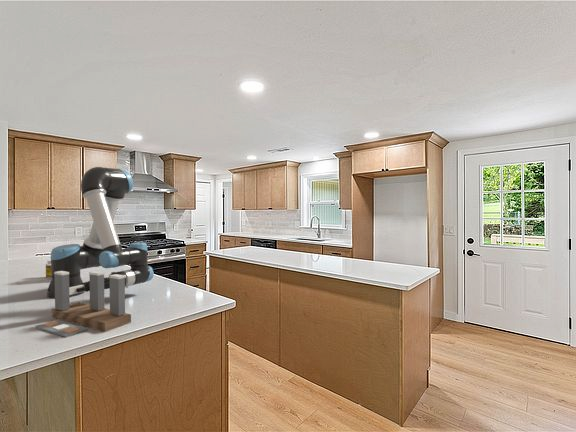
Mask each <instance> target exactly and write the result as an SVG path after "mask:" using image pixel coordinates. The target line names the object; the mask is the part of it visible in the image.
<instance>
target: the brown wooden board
mask: <svg viewBox="0 0 576 432" xmlns="http://www.w3.org/2000/svg"><path fill="white" fill-rule="evenodd" d="M51 317H52V318H56V319H57V320H61V321H64V322H68V323H69V322H70V323H71V324H75V325H78V326H80V325H81V326H82V327H85V328H90V329H94V330H97V331H101V332H104V333H106V332H109V331H111V330H114V329H117V328H119V327H122V326H125V325H129V324H131V323H132V314H130V313H127V312H125V314H123V315H120V316H117V315H113V314H110V308H105V307H104V309H103V310H100V311H96V310H92V309H90V304H88V303H83V302H80V301H79V302H74V303H71V304H70V309H67V310H63V311H62V310H58V309H55V307H54V308H52V309H51Z"/></svg>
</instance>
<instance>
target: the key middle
mask: <svg viewBox="0 0 576 432" xmlns="http://www.w3.org/2000/svg"><path fill="white" fill-rule="evenodd" d="M88 274H89V281H90V291H89V305H90V309H92V310H96V311H100V310H103V309H104V308H105V289H104V278H105V272H104V271H98V270H94V271H89V272H88Z"/></svg>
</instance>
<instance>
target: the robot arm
mask: <svg viewBox="0 0 576 432" xmlns="http://www.w3.org/2000/svg"><path fill="white" fill-rule="evenodd" d="M133 188H134V180H133V178H132V175H131V173H130V172H128V171H127V170H125V169H120V168H111V167H102V166H95V167H91V168H90V169H88V170H86V171H85V173H84V174H83V176H82V178H81V181H80V192H81V195H82V198H83V199H86V201H87V206H88V208H89V211H90V214H91V218H92V221H93V222H92V225H91V229H90V232H89V235H88V237H87V238H84V241H83V243H82V245H80V244H78V243H69V244H63V245H58V246H56V247H53V248H52V249H51V252H50V260H51V278H50V279H51V280H50V282H49V286H48V287H47V291H46V296H47V297H49V298H54V299H55V276H54V272H57V271H66V272H69V297H73V296H78V295H81V294H84V293H85V292H87V293H88V292H90V280H88V281H84V282H83V279H82V276H81V270H85V269H91V268H99V267H102V268H103V269H113V268H118V267H122V266H123V267H124V266H127V265H130V269H124V270H120V271H113V272H114V273H112V274H111V273H110V274H111V275H114V274H118V275H124V276H125V289H126V288H129V287H132V286H134V285H135V286H136V285H140V284H145V283H147V282H150V281H151V280H152V279H153V278H154V275H155V273H154V269H153V267H152V266H150V265H148V263H149V261H148V260H149V259H148V253H149V252H148V251H149V250H148V245H147V243H146V242H144V241H143V242H131V243H130V244H129V247H127V248H123V247H122V245H121V242H120V238H119V236H118V235H119V234H118V232H117V228H116V226H115V223H114V220H115V217H116V215H117V214H116V213H117V210H118V208H119V207H118V206H119V204H120V201H121V200H123V199H124V198H125V195H126V194H128V193H130V192H131V191H132V190H133ZM107 289H108V290H110V279H109V278H105V277H104V290H107Z"/></svg>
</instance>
